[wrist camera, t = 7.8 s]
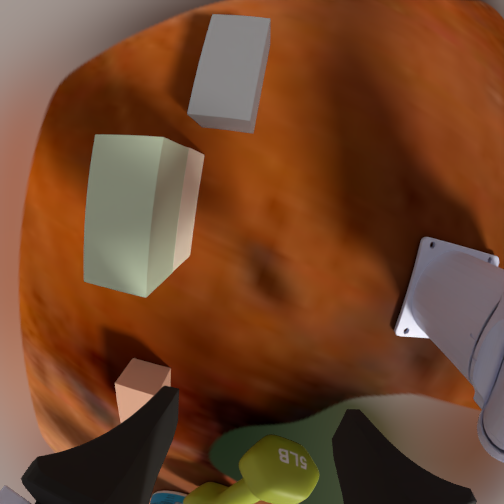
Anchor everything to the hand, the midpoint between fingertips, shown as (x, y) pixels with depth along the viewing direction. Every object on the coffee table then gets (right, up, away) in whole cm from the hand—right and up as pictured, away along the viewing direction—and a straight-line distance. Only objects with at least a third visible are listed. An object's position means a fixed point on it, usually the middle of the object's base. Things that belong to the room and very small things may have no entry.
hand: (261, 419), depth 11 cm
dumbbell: (-1, -17, +15) cm, 23 cm away
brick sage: (-6, +9, +5) cm, 12 cm away
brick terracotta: (-9, -6, +13) cm, 17 cm away
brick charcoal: (-1, +18, +7) cm, 20 cm away
